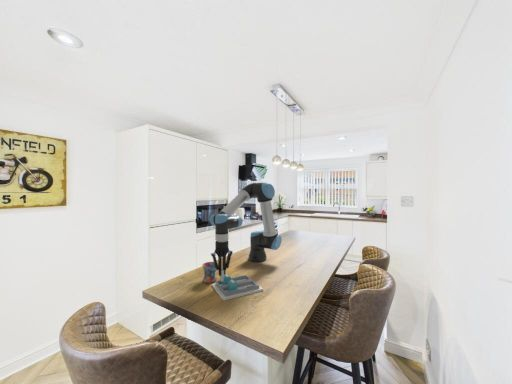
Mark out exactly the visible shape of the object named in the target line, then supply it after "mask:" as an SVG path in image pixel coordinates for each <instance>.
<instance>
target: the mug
mask: <svg viewBox="0 0 512 384" xmlns="http://www.w3.org/2000/svg"><path fill="white" fill-rule="evenodd" d="M201 265H202V269H203V271H204V276H203V279H202V282H204V283H208V284H210V283H211V284H213V283H216V282H217V281H218V278H217V276H216V272H217V271H218V270H217V269H216V268H215V265H214V261H207V262H204V263H203V264H201Z"/></svg>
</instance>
